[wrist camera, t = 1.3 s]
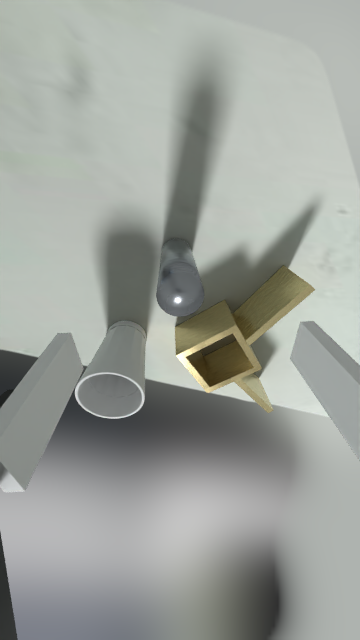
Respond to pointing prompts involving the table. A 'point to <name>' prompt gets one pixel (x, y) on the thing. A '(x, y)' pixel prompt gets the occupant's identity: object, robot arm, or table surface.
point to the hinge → (238, 335)
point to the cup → (115, 373)
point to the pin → (178, 280)
